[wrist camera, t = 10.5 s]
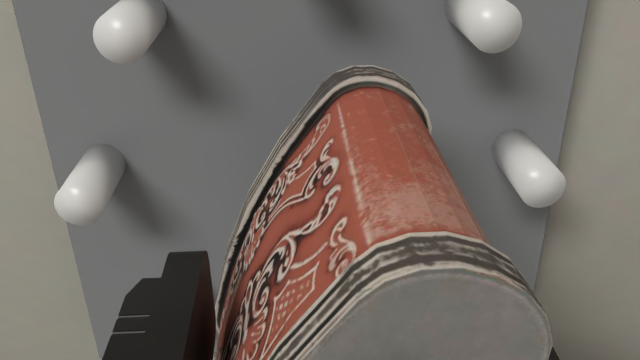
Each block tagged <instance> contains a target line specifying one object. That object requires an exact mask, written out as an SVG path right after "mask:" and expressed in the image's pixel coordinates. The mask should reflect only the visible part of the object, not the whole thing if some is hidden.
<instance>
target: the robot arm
mask: <svg viewBox="0 0 640 360" xmlns="http://www.w3.org/2000/svg"><path fill="white" fill-rule="evenodd" d="M112 332H113V334H112V335H111V336H110V339H109V342H108V344H107V347H106V350H105V353H104V355H103V358H102V360H213V353H214V347H215V338H216V315H215V305H214V297H213V288H212V280H211V271H210V263H209V256H208V253H207V251H183V252H169V254H168V256H167V259H166V262H165V266H164V269H163V273H162V276H161V278H142V279H141V280H140V281H139V282H138V283H137V284H136V285H135V286H134V287H133V288H132V289H131V290H130V291H129V292H128V293H127V295H126V296H125V298H124V301H123V304H122V306H121V309H120V312H119V314H118V319H117V320H116V323H115V325H114V328H113V331H112ZM548 360H559V358H558V356H557V354H556V352H555V351H554V349H553V347H552V349H551V352H550V355H549V359H548Z"/></svg>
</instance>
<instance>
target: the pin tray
mask: <svg viewBox="0 0 640 360" xmlns="http://www.w3.org/2000/svg"><path fill="white" fill-rule="evenodd" d="M12 3H13V7H14V11H15V15H16V19H17V23H18V27H19V31H20V35H21V40H22V44H23V48H24V52H25V56H26V60H27V64H28V68H29V72H30V76H31V80H32V84H33V88H34V92H35V96H36V101H37V105H38V109H39V113H40V117H41V121H42V125H43V129H44V133H45V137H46V141H47V145H48V149H49V153H50V157H51V161H52V166H53V170H54V174H55V178H56V182H57V186H58V190H59V191H58V192H57V194H56V196H55V199H54V205H55V209H56V211H57V213H58V214H59V215H60V217H61V218H63V219H64V220H65V221H66V222H67V227H68V231H69V235H70V239H71V243H72V247H73V251H74V255H75V259H76V263H77V267H78V271H79V275H80V279H81V283H82V287H83V292H84V296H85V300H86V304H87V308H88V312H89V316H90V320H91V324H92V328H93V332H94V336H95V340H96V344H97V348H98V353H99V357H100V358H103V355H104V353H105V350H106V347H107V344H108V342H109V339H110V336H111V335H112V334H113V332H112V331H113V328H114V325H115V323H116V320H117V319H118V314H119V312H120V309H121V306H122V304H123V301H124V298H125V296H126V295H127V293H128V292H129V291H130V290H131V289H132V288H133V287H134V286H135V285H136V284H137V283H138V282H139V281H140V280H141V279H142V278H161V276H162V273H163V269H164V266H165V262H166V259H167V256H168V254H169V252H183V251H207V253H208V256H209V263H210V271H211V280H212V288H213V297H214V305H215V301H216V295H217V289H218V285H219V281H220V276H221V272H222V268H223V264H224V259H225V255H226V251H227V247H228V243H229V240H230V238H231V235H232V232H233V230H234V227H235V225H236V222H237V220H238V217H239V215H240V212H241V209H242V207H243V204H244V202H245V199H246V197H247V194H248V191H249V189H250V188H251V186H252V184H253V183H254V181H255V179H256V177H257V176H258V174H259V172H260V171H261V169H262V167H263V165H264V164H265V162H266V160H267V159H268V157H269V155H270V154H271V152H272V150H273V148H274V147H275V145H276V143H277V142H278V140H279V138H280V136H281V135H282V134H283V132H284V131H285V130H286V129H287V127H288V126H289V125H290V123H291V122H292V121H293V119H294V118H295V117H296V115H297V114H298V113H299V112H300V110H301V109H302V108H303V106H304V105H305V104H306V102H307V101H308V100H309V98H310V97H311V96H312V95H313V93H314V92H315V91H316V89H317V88H318V87H319V85H320V84H321V83H322V82H323V81H325V80H326V79H327V78H328V77H329V76H330V75H332V74H333V73H334V72H336V71H339V70H342V69H344V68H347V67H350V66H357V65H374V66H377V67H381V68H384V69H388V70H391V71H393V72H395V73H396V74H398V75H399V76H401V77H402V78H403V79H405V80H406V81H408V82H409V83H410V85H411V86H412V87H413V89H414V90H415V92H416V93H417V94H418V96H419V97H420V99H421V101H422V102H423V104H424V106H425V107H426V109H427V111H428V115H429V119H430V123H431V126H432V131H431V137H432V139H433V140H434V142H435V144H436V146H437V148H438V150H439V152H440V153H441V155H442V157H443V159H444V161H445V163H446V164H447V166H448V168H449V170H450V172H451V174H452V176H453V177H454V179H455V181H456V183H457V185H458V187H459V188H460V190H461V192H462V194H463V196H464V198H465V200H466V201H467V203H468V205H469V207H470V209H471V211H472V212H473V214H474V216H475V218H476V220H477V222H478V224H479V225H480V227H481V229H482V231H483V233H484V235H485V237H486V238H487V240H488V242H489V244H490V246H492V247H493V248H495V249H497V250H498V251H500V252H502V253H503V254H505V255H507V256H508V257H509V258H510V260H511V261H512V262H513V264H514V265H515V266H516V267H517V269H518V270H519V271H520V273H521V274H522V275H523V277H524V278H525V279H526V281H527V283H528V284H529V286H530V288H531V290H532V291H533V293H534V288H535V283H536V277H537V272H538V267H539V261H540V256H541V251H542V245H543V240H544V235H545V229H546V224H547V218H548V213H549V208H550V205H551V204H553V203H555V202H556V201H557V200H558V199H559V198H560V197H561V196H562V195H563V193H564V191H565V187H566V180H565V177H564V175H563V174H562V173H561V172H560V170H559V169H558V168H557V165H558V159H559V154H560V149H561V143H562V138H563V133H564V127H565V122H566V116H567V111H568V106H569V100H570V95H571V90H572V84H573V79H574V73H575V68H576V63H577V57H578V52H579V47H580V41H581V36H582V30H583V25H584V20H585V14H586V9H587V4H588V0H12ZM218 337H219V334H218V332H217V330H216V338H215V347H214V353H216V352H217V344H218Z"/></svg>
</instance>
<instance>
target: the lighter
mask: <svg viewBox="0 0 640 360" xmlns="http://www.w3.org/2000/svg"><path fill="white" fill-rule="evenodd" d="M431 131H432V126H431V123H430V119H429V115H428V111H427V109H426V107H425V106H424V104H423V102H422V101H421V99H420V97H419V96H418V94H417V93H416V92H415V90H414V89H413V87H412V86H411V85H410V83H409V82H408V81H406V80H405V79H403V78H402V77H401V76H399V75H398V74H396V73H395V72H393V71H391V70H388V69H384V68H381V67H377V66H374V65H357V66H350V67H347V68H344V69H342V70H339V71H336V72H334V73H333V74H332V75H330V76H329V77H328V78H327V79H326V80H325V81H323V82H322V83H321V84H320V85H319V87H318V88H317V89H316V91H315V92H314V93H313V95H312V96H311V97H310V98H309V100H308V101H307V102H306V104H305V105H304V106H303V108H302V109H301V110H300V112H299V113H298V114H297V115H296V117H295V118H294V119H293V121H292V122H291V123H290V125H289V126H288V127H287V129H286V130H285V131H284V132H283V134H282V135H281V136H280V138H279V140H278V142H277V143H276V145H275V147H274V148H273V150H272V152H271V154H270V155H269V157H268V159H267V160H266V162H265V164H264V165H263V167H262V169H261V171H260V172H259V174H258V176H257V177H256V179H255V181H254V183H253V184H252V186H251V188H250V189H249V191H248V194H247V197H246V199H245V202H244V204H243V207H242V209H241V212H240V215H239V217H238V220H237V222H236V225H235V227H234V230H233V232H232V235H231V238H230V240H229V243H228V247H227V251H226V255H225V259H224V264H223V268H222V272H221V276H220V281H219V285H218V289H217V295H216V301H215V315H216V330H217V332H218V334H219V337H218V344H217V352H216V359H215V360H548V359H549V355H550V352H551V349H552V345H553V341H552V336H551V331H550V326H549V321H548V317H547V315H546V314H545V312H544V310H543V309H542V307H541V305H540V303H539V302H538V300H537V298H536V297H535V295H534V293H533V291H532V290H531V288H530V286H529V284H528V283H527V281H526V279H525V278H524V277H523V275H522V274H521V273H520V271H519V270H518V269H517V267H516V266H515V265H514V264H513V262H512V261H511V260H510V258H509V257H508V256H507V255H505V254H503V253H502V252H500V251H498V250H497V249H495V248H493V247H492V246H490V244H489V242H488V240H487V238H486V237H485V235H484V233H483V231H482V229H481V227H480V225H479V224H478V222H477V220H476V218H475V216H474V214H473V212H472V211H471V209H470V207H469V205H468V203H467V201H466V200H465V198H464V196H463V194H462V192H461V190H460V188H459V187H458V185H457V183H456V181H455V179H454V177H453V176H452V174H451V172H450V170H449V168H448V166H447V164H446V163H445V161H444V159H443V157H442V155H441V153H440V152H439V150H438V148H437V146H436V144H435V142H434V140H433V139H432V137H431Z"/></svg>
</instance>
